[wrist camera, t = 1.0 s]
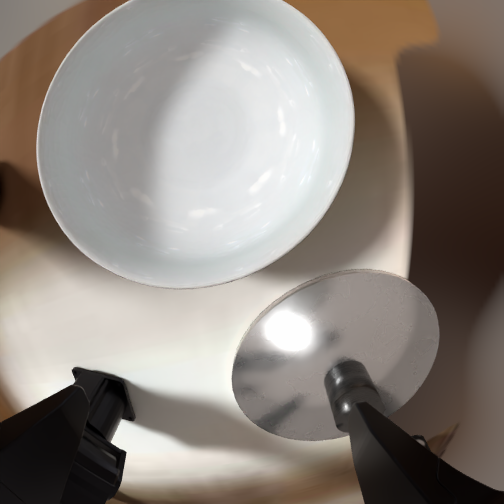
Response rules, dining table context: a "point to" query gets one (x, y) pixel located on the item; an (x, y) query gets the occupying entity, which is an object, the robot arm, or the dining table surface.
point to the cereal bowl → (195, 138)
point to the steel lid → (334, 353)
